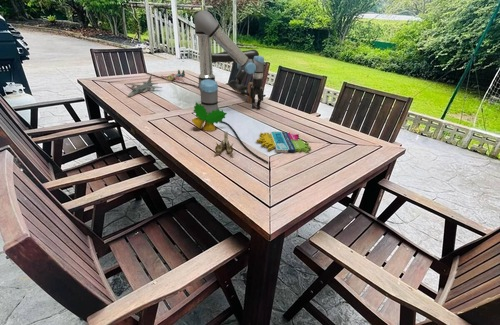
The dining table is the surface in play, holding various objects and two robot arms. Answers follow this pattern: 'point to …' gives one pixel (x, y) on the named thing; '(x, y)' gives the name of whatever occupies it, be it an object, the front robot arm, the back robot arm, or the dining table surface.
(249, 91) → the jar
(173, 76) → the toy
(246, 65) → the front robot arm
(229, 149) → the jawbone
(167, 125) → the dining table surface
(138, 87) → the airplane
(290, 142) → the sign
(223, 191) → the dining table surface
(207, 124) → the ornament
